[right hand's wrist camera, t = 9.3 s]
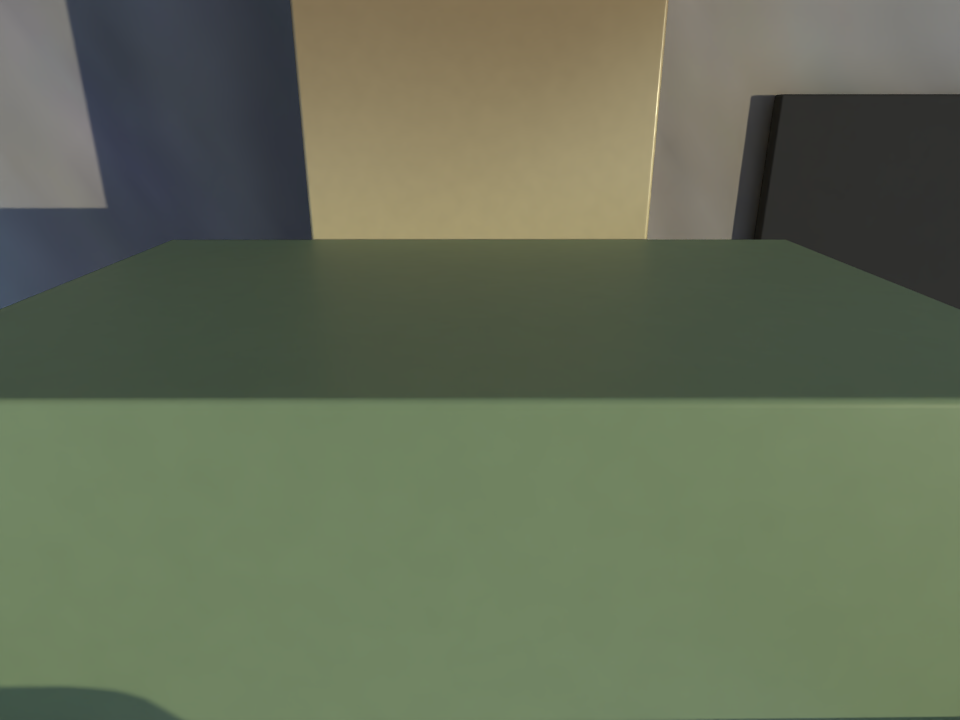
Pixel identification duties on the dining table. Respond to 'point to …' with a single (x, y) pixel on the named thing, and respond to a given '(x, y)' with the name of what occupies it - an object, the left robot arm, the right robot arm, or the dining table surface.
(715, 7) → the dining table surface
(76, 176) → the dining table surface
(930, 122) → the rubber mat
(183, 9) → the dining table surface
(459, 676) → the sage block
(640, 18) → the birch plank
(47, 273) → the dining table surface
